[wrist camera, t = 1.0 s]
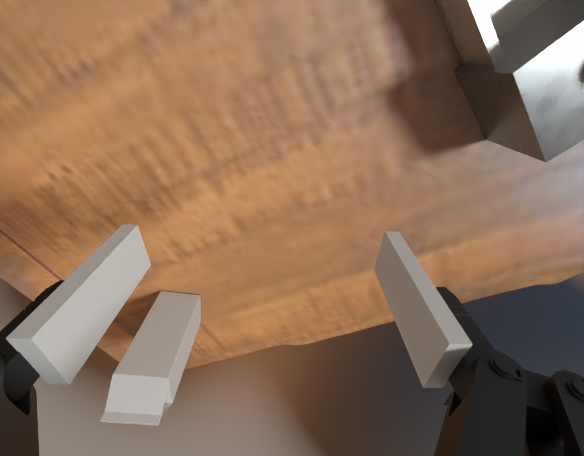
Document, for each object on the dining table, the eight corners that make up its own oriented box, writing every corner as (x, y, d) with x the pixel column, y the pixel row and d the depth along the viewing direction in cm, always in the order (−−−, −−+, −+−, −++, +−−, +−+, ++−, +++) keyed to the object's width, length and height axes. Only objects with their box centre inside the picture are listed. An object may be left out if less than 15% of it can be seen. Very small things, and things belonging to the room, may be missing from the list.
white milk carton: (160, 290, 47) (93, 408, 31) (200, 294, 47) (155, 412, 31) (164, 315, 50) (105, 433, 34) (201, 319, 51) (161, 436, 35)
